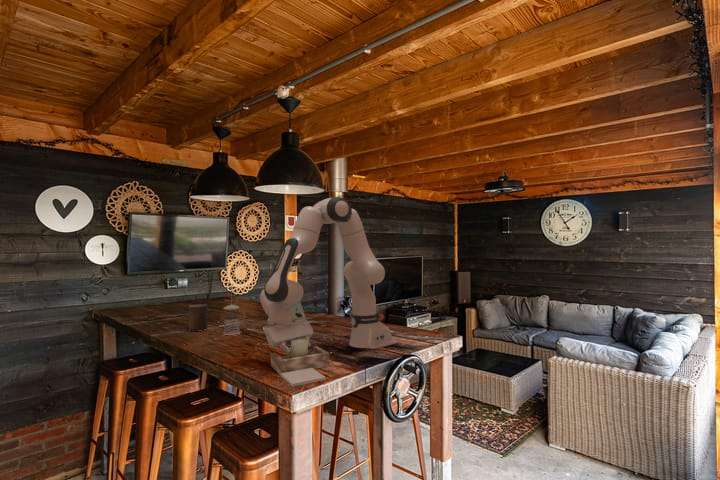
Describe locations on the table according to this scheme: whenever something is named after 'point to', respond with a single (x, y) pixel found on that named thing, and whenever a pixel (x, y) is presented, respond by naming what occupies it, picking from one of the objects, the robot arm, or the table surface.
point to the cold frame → (300, 361)
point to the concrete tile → (302, 377)
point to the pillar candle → (198, 317)
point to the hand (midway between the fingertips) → (299, 350)
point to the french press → (228, 320)
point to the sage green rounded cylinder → (299, 347)
